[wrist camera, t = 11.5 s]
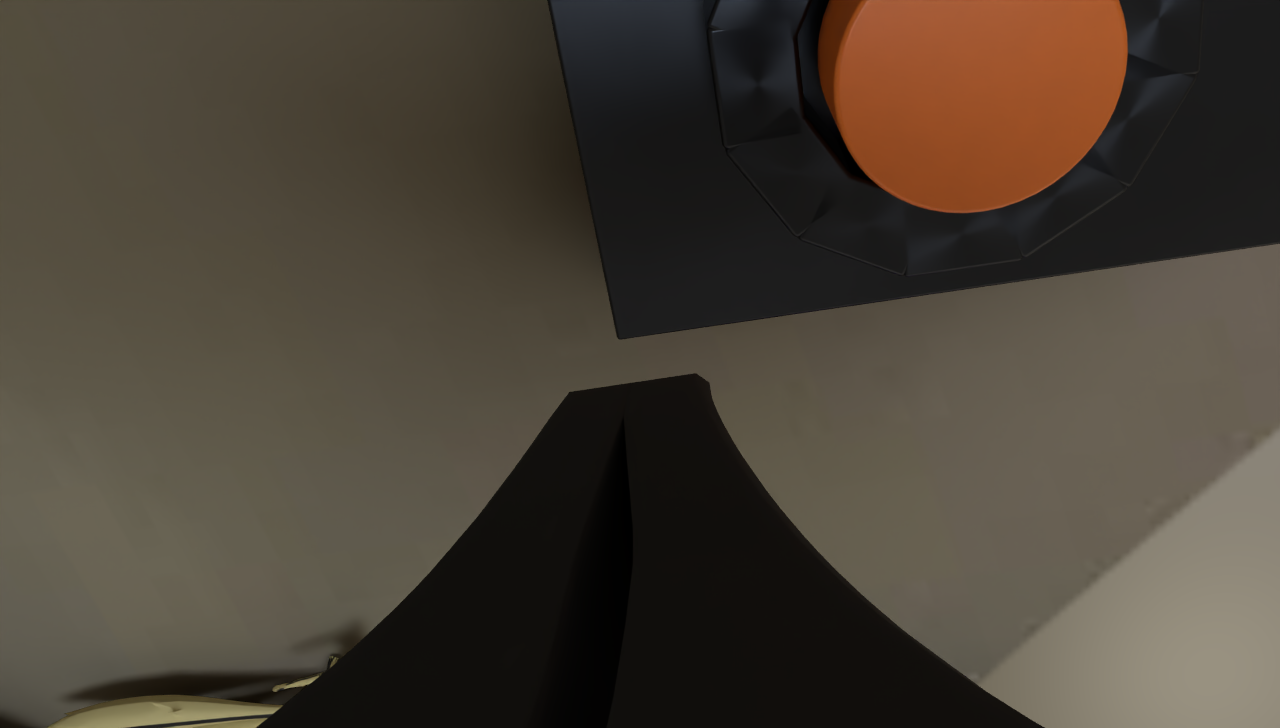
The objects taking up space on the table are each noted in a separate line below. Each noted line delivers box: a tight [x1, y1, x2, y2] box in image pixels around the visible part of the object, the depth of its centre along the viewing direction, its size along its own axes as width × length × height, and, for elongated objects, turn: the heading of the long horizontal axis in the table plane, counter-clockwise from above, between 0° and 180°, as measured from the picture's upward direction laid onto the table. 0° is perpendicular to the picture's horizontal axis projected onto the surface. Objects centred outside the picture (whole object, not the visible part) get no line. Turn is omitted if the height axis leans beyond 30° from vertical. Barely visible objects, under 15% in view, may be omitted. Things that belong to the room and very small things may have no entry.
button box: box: [547, 0, 1280, 339], centre depth 17 cm, size 11×9×4 cm
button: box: [817, 0, 1128, 213], centre depth 15 cm, size 4×4×2 cm
